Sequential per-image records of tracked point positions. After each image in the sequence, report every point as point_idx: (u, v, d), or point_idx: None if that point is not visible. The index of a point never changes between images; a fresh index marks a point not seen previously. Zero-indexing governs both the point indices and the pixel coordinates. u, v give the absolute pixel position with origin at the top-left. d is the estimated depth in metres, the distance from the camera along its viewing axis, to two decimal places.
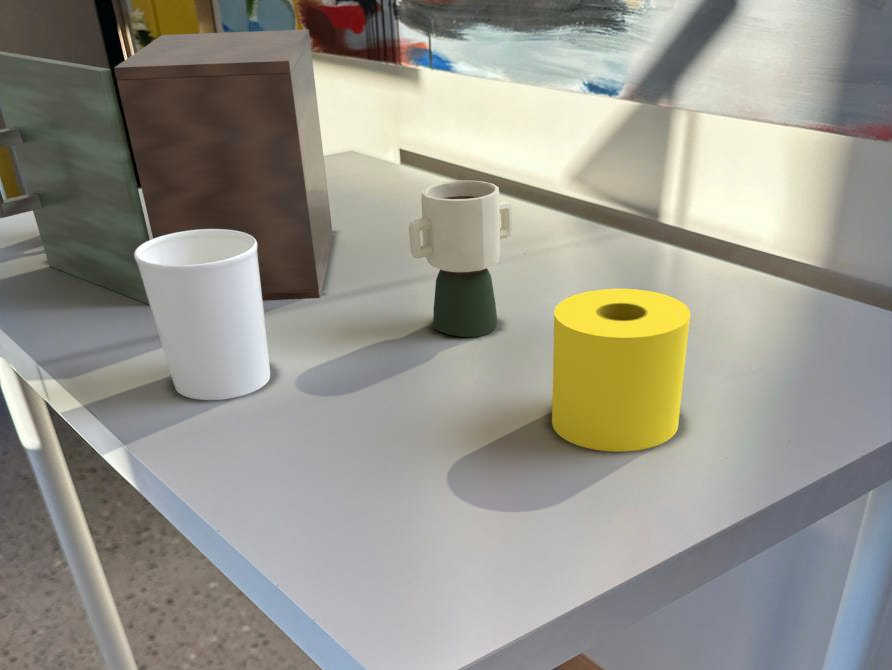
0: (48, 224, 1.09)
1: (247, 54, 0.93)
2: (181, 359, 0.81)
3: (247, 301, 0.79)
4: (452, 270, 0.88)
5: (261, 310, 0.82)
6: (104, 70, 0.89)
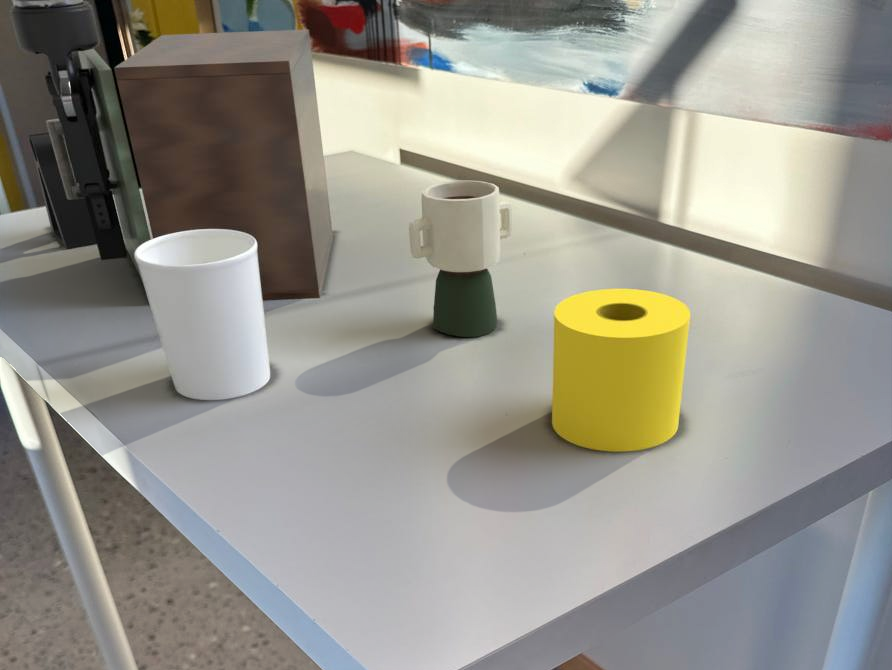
0: (118, 210, 1.12)
1: (247, 54, 0.93)
2: (181, 359, 0.81)
3: (247, 301, 0.79)
4: (452, 270, 0.88)
5: (261, 310, 0.82)
6: (104, 70, 0.89)
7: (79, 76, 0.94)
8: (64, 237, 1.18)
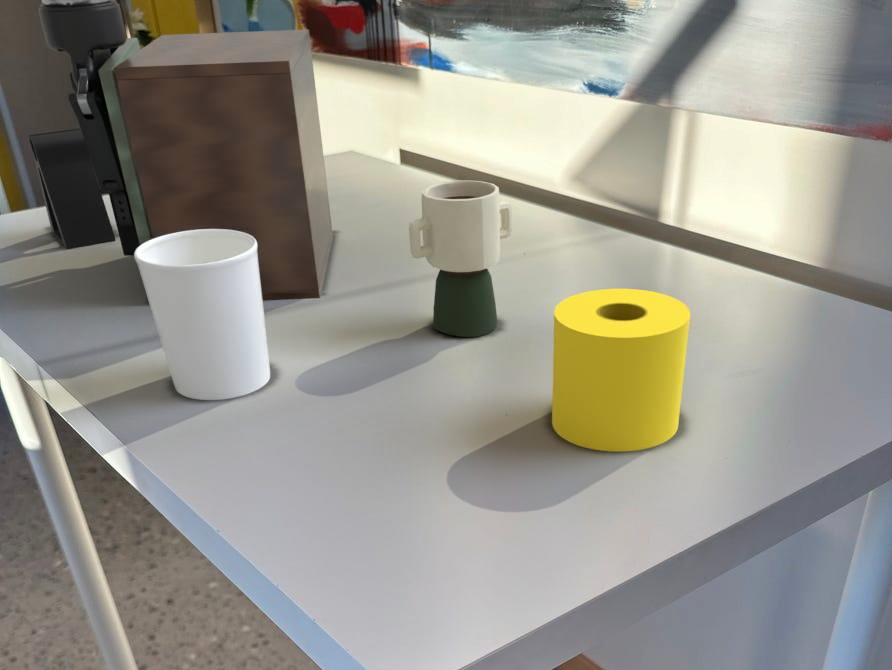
0: None
1: (247, 54, 0.93)
2: (181, 359, 0.81)
3: (247, 301, 0.79)
4: (452, 270, 0.88)
5: (261, 310, 0.82)
6: (105, 70, 0.89)
7: None
8: (64, 237, 1.18)
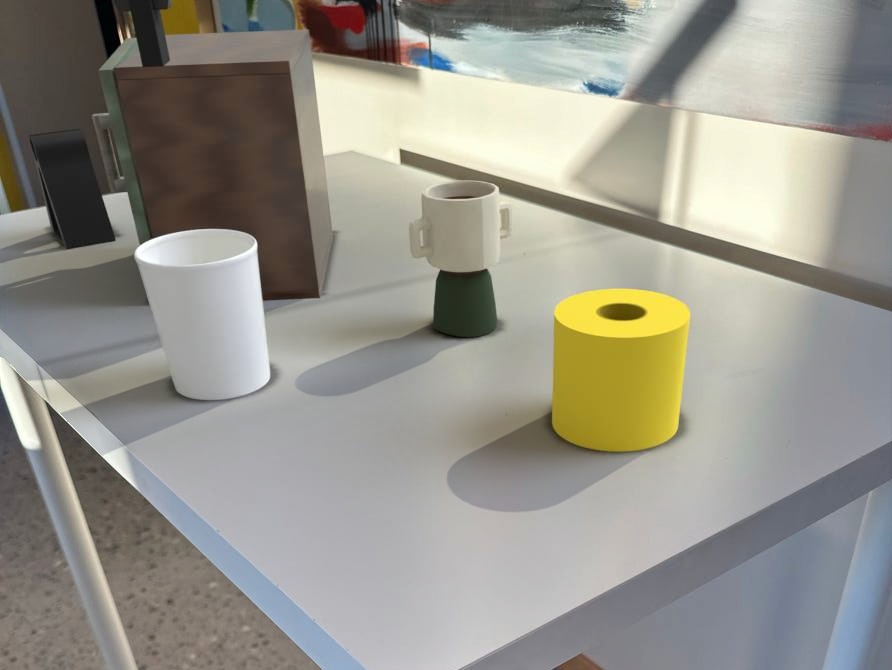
0: None
1: (247, 54, 0.93)
2: (181, 359, 0.81)
3: (247, 301, 0.79)
4: (452, 270, 0.88)
5: (261, 310, 0.82)
6: (105, 70, 0.89)
7: None
8: (64, 237, 1.18)
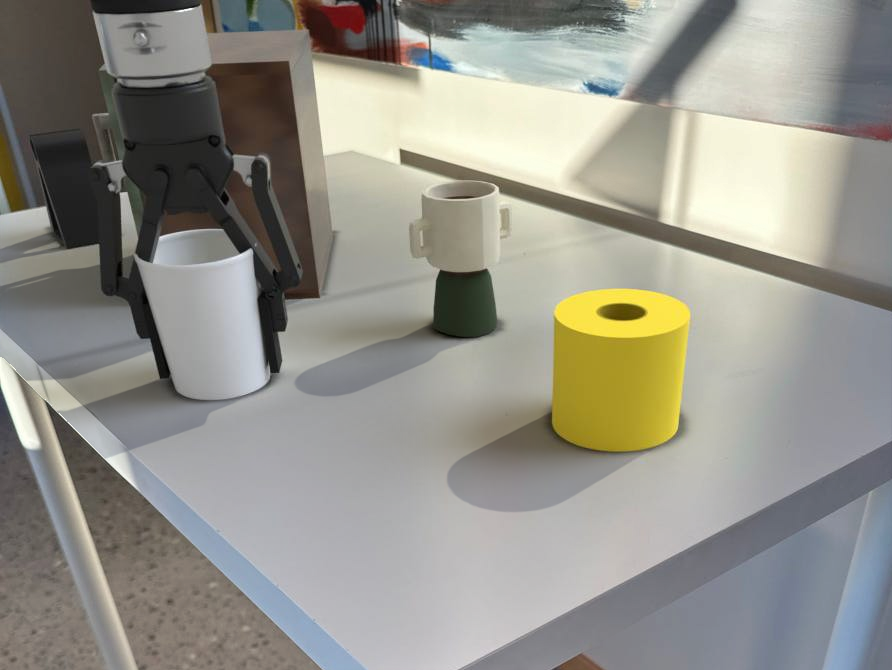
0: None
1: (247, 54, 0.93)
2: (181, 359, 0.81)
3: (247, 301, 0.79)
4: (452, 270, 0.88)
5: None
6: (105, 70, 0.89)
7: (153, 171, 0.74)
8: (64, 237, 1.18)
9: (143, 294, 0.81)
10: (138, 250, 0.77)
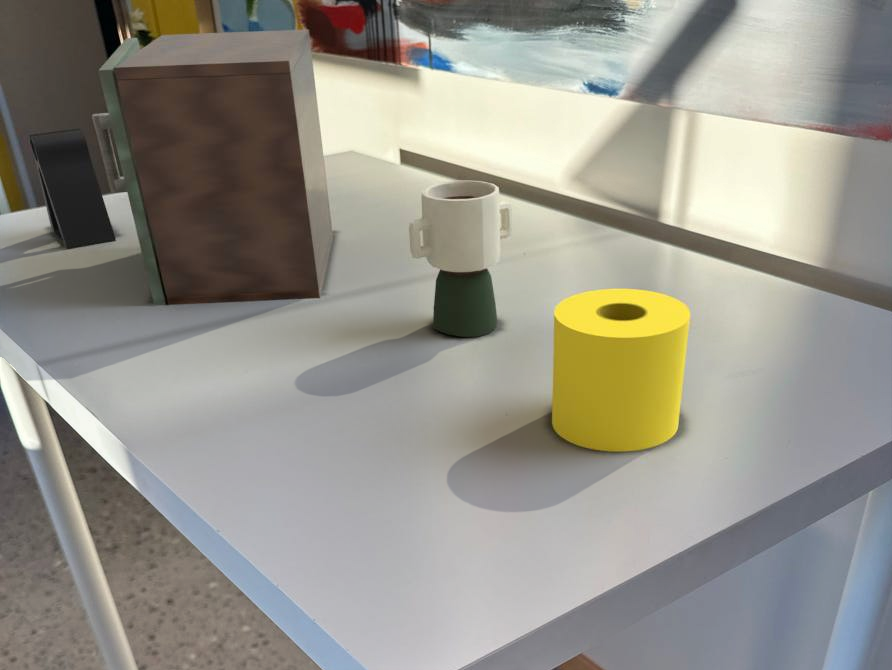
0: None
1: (247, 54, 0.93)
2: None
3: None
4: (452, 270, 0.88)
5: None
6: (105, 70, 0.89)
7: None
8: (64, 237, 1.18)
9: None
10: None
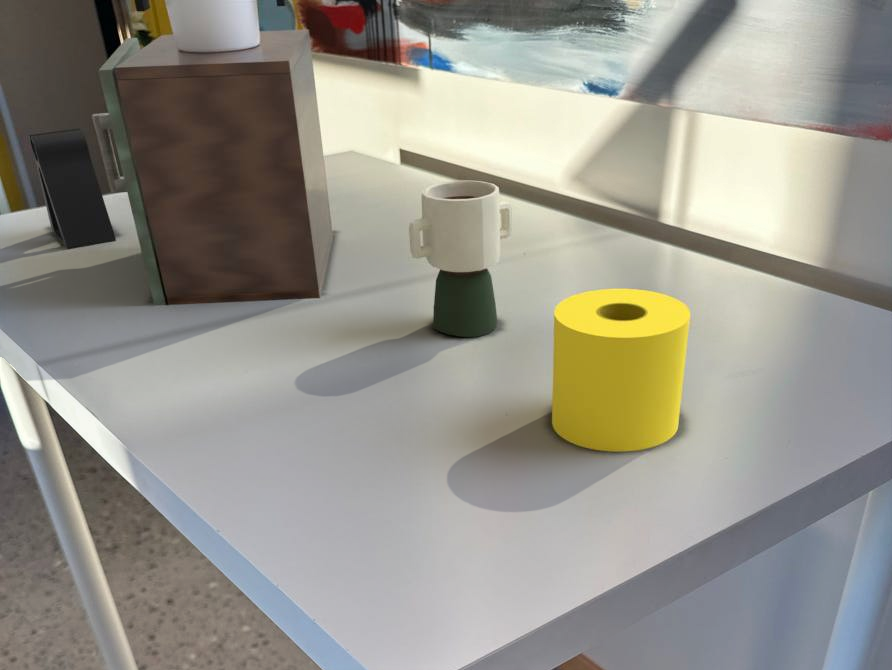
0: None
1: (247, 54, 0.93)
2: (181, 2, 0.92)
3: None
4: (452, 270, 0.88)
5: None
6: (105, 70, 0.89)
7: None
8: (64, 237, 1.18)
9: None
10: None
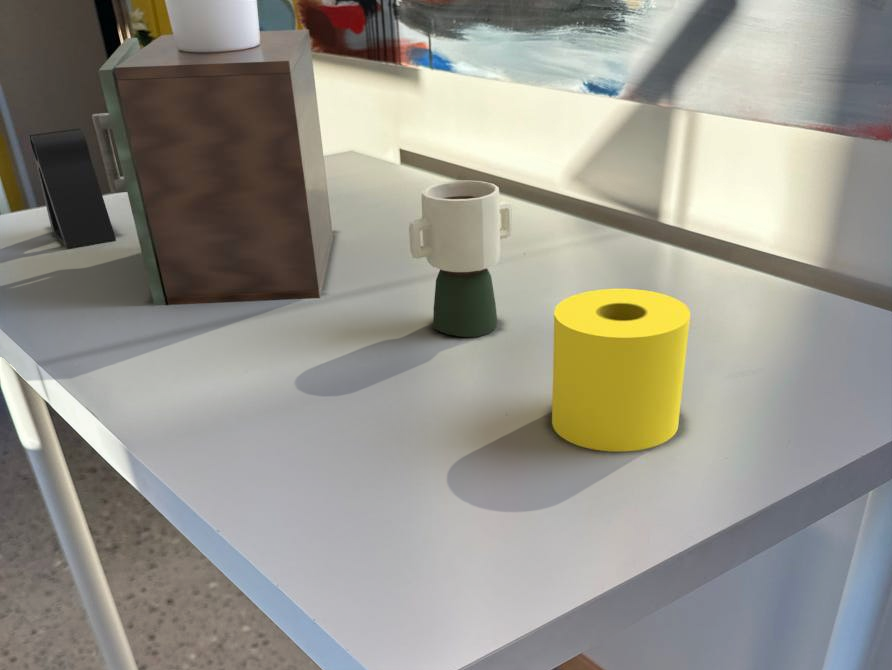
0: None
1: (247, 54, 0.93)
2: (181, 2, 0.92)
3: None
4: (452, 270, 0.88)
5: None
6: (105, 70, 0.89)
7: None
8: (65, 237, 1.18)
9: None
10: None
